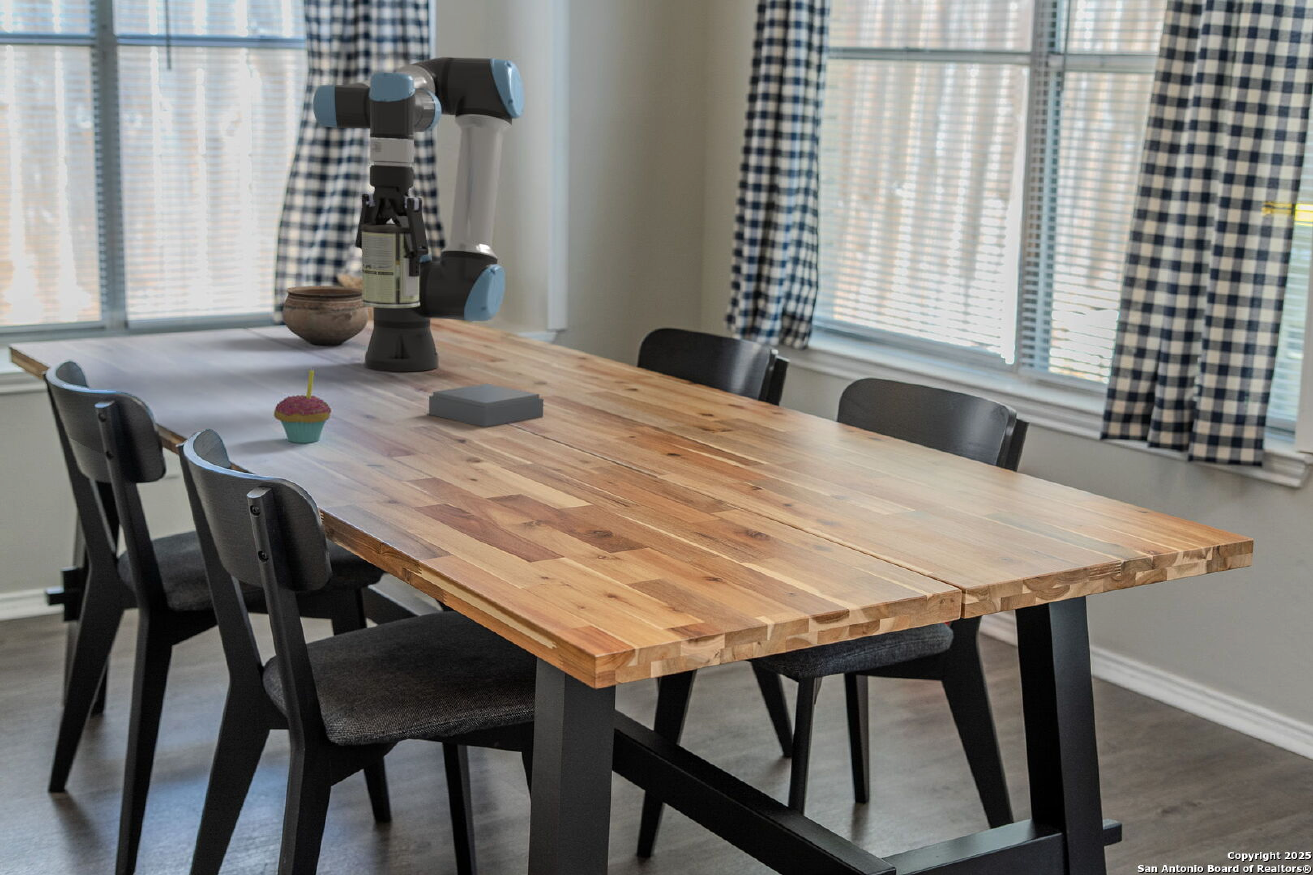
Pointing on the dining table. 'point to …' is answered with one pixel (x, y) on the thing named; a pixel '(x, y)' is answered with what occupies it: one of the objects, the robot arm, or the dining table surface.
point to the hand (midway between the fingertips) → (391, 292)
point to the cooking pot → (325, 313)
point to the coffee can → (384, 267)
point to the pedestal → (485, 405)
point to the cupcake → (303, 415)
